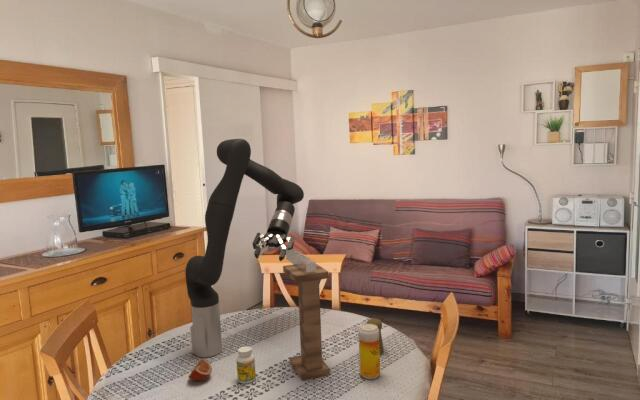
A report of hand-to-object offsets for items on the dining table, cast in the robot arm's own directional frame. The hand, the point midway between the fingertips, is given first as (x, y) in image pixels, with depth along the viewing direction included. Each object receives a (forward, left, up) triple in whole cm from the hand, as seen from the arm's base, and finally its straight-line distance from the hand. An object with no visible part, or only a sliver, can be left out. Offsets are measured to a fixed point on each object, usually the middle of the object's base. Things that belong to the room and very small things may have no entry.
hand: (268, 258), depth 163 cm
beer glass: (+38, -13, -31) cm, 51 cm away
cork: (+36, +3, -31) cm, 48 cm away
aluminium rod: (+16, -11, +1) cm, 20 cm away
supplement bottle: (+3, -25, -31) cm, 40 cm away
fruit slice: (-11, -28, -31) cm, 44 cm away
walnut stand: (+19, -14, -31) cm, 39 cm away
